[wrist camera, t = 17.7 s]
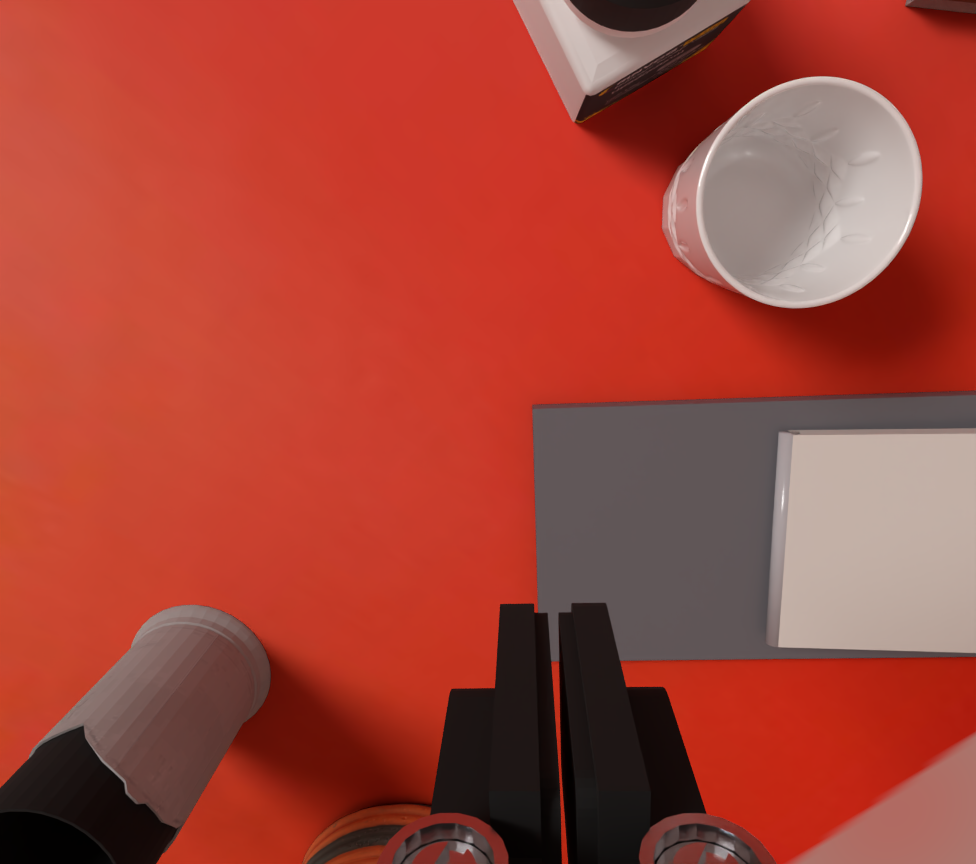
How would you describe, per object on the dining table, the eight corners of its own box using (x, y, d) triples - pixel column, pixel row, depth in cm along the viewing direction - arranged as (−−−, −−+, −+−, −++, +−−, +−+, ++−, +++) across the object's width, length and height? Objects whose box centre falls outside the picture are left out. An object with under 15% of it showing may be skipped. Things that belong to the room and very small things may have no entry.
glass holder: (300, 684, 43) (186, 908, 28) (137, 794, 45) (-43, 1050, 31) (203, 578, 41) (31, 758, 27) (41, 698, 44) (-196, 921, 29)
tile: (781, 435, 35) (775, 429, 36) (767, 646, 38) (762, 636, 39) (1055, 432, 33) (1040, 427, 35) (1017, 654, 37) (1005, 642, 38)
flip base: (1036, 388, 36) (1050, 392, 35) (995, 646, 40) (1006, 656, 39) (532, 404, 38) (532, 408, 37) (539, 651, 41) (539, 661, 40)
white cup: (749, 88, 33) (841, 23, 23) (842, 220, 34) (966, 210, 25) (616, 201, 35) (652, 183, 25) (710, 323, 36) (778, 351, 26)
